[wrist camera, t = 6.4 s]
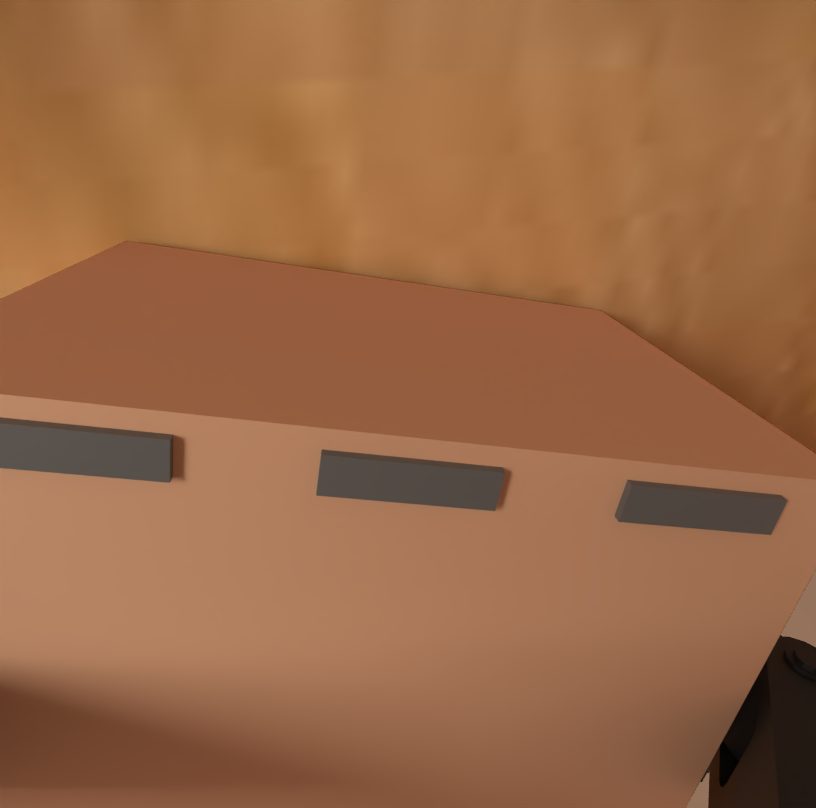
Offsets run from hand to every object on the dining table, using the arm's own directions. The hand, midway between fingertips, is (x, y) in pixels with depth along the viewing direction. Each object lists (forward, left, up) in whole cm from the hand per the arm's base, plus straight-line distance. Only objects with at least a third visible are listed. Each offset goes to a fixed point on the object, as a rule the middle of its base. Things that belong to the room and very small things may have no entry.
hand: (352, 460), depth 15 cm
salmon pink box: (-1, 0, -1) cm, 1 cm away
